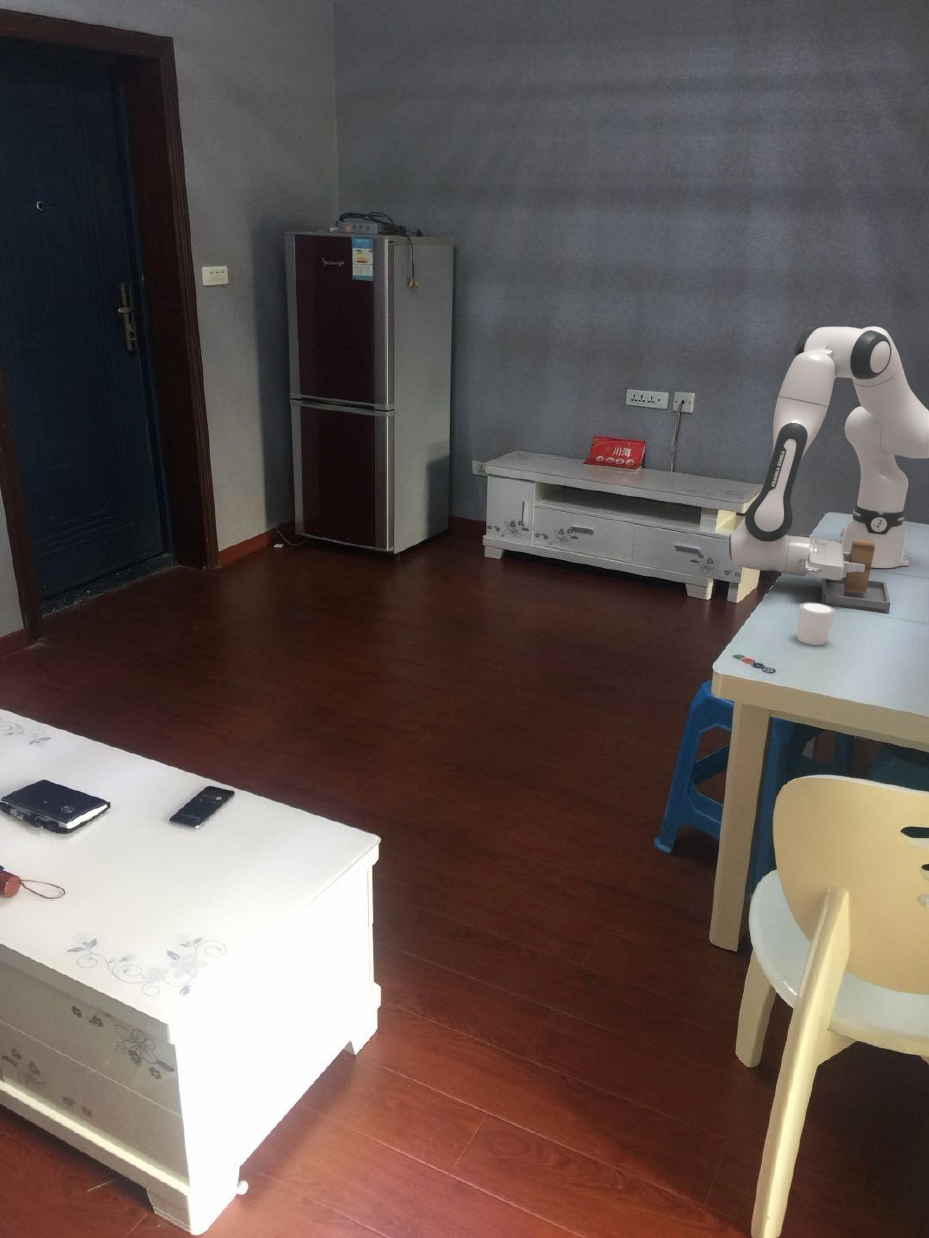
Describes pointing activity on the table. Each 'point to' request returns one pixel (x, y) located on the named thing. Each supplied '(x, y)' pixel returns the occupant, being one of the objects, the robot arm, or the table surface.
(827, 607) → the white cup
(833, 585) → the charcoal tray
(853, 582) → the walnut block
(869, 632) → the table surface
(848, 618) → the table surface
